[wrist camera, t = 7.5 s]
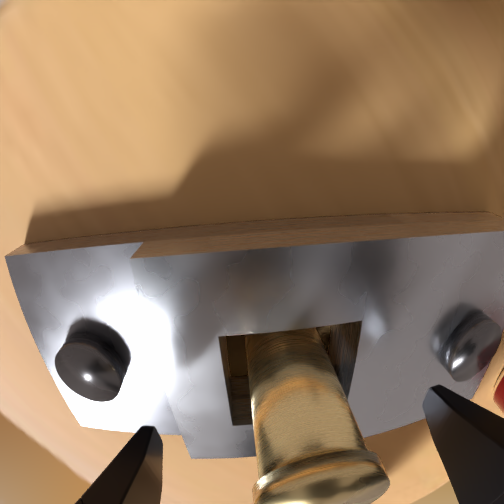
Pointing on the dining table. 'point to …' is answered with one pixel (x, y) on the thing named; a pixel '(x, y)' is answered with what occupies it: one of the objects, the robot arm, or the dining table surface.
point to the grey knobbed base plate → (263, 316)
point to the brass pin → (306, 426)
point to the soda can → (499, 392)
